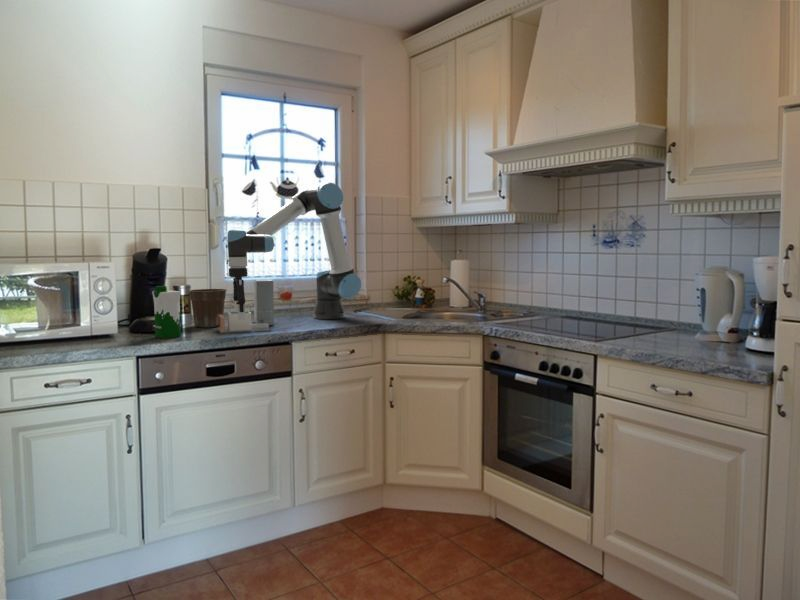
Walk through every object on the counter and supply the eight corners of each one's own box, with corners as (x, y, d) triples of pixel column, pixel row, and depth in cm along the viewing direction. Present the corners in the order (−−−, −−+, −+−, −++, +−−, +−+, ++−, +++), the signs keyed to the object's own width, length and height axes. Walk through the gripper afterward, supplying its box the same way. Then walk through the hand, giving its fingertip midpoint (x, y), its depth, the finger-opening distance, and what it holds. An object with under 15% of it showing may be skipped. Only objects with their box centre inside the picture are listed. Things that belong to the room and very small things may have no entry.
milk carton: (151, 337, 239) (149, 286, 237) (173, 334, 246) (171, 284, 244) (162, 339, 233) (160, 287, 231) (184, 336, 240) (182, 285, 238)
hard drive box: (274, 325, 272) (273, 280, 270) (256, 326, 270) (255, 281, 268) (270, 321, 287) (269, 278, 285) (254, 321, 284) (253, 279, 282)
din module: (249, 327, 260) (249, 310, 259) (251, 329, 255) (251, 311, 254) (228, 329, 257) (227, 311, 256) (229, 331, 251) (228, 312, 251)
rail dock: (266, 327, 266) (266, 312, 265) (270, 331, 255) (270, 315, 254) (218, 329, 259) (218, 314, 258) (221, 333, 247) (220, 317, 247)
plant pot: (188, 324, 275) (187, 288, 274) (226, 322, 281) (225, 287, 279) (190, 329, 260) (189, 291, 258) (229, 327, 266) (228, 290, 264)
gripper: (225, 266, 264) (227, 315, 266) (231, 268, 240) (233, 322, 243) (243, 265, 266) (245, 314, 268) (251, 268, 243) (253, 321, 245)
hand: (239, 318), depth 255 cm, fingers open, 13 cm apart
